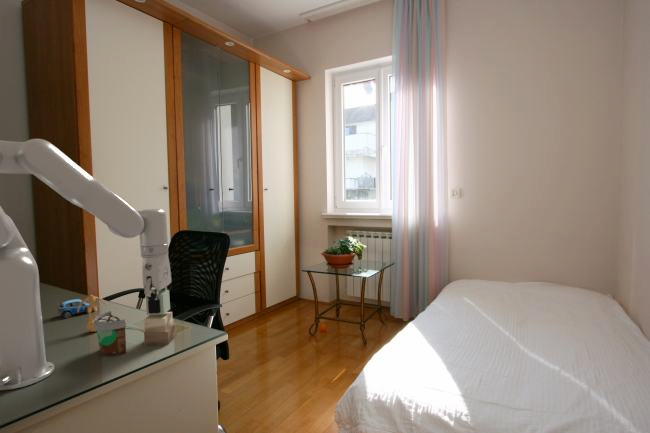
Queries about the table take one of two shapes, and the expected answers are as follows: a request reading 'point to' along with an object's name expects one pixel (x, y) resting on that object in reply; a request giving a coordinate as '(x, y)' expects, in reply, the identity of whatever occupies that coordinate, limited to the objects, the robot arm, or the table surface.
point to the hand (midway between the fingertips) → (158, 309)
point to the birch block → (158, 322)
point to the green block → (161, 302)
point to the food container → (110, 334)
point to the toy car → (72, 308)
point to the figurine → (91, 301)
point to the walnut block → (161, 336)
